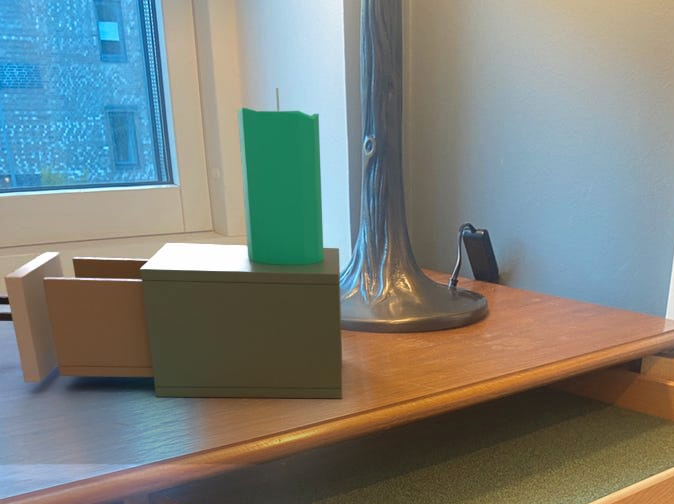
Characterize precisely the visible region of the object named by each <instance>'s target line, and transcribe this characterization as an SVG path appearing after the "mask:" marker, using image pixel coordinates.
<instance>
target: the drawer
mask: <svg viewBox="0 0 674 504" xmlns="http://www.w3.org/2000/svg"><path fill="white" fill-rule="evenodd" d="M150 259H151V258H125V257H124V258H121V257H87V256H85V257H84V256H83V257H82V256H74V257H73V258H72V266H73V272H74V277H64V270H63V265H62V259H61V253H60V252H49V251H48V252H44V253H42V254H40V255H39V256H37V257H35V258H34V259H32V260H30V261H29V262H27V263H25V264H24V265H22V266H20V267H18V268H17V269H15V270H13V271H12V272H10V273H9V274H6V275H5V276H4V283H5V288H6V293H7V295H0V306H1V305H2V306H9V308H10V309H9V310H10V311H0V322H12V324H13V329H14V334H15V339H16V345H17V350H18V354H19V359H20V365H21V370H22V374H23V379H24V383H41V382H42V381H43V380H45V378H47V376H48V375H49V374H50V373H51V372H53V370H54V369H55V368H56V367H58V372H59V376H60V377H100V378H103V377H104V378H105V377H106V378H107V377H109V378H121V377H122V378H154V376H153V368H152V360H151V352H150V344H149V336H148V328H147V321H146V313H145V305H144V297H143V289H142V280H141V274H140V269H141V268H142V267H143V266H144V265H145V264H146V263H147V262H148V261H149V260H150Z"/></svg>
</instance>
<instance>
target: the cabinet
mask: <svg viewBox="0 0 674 504" xmlns="http://www.w3.org/2000/svg"><path fill="white" fill-rule="evenodd" d="M323 256H324V259H323V260H322V261H320V262H318V263H311V264H302V265H280V264H266V263H261V262H255V261H252V260H251V259H249V258H248V246H247V245H238V244H237V245H236V244H235V245H234V244H205V243H203V244H202V243H201V244H200V243H170V242H167V243H165V244H164V245H163V247H161V248H160V249H159V250H158V251H157V252H156V253H155V254H154V255H153V256H152V257H151V258H149V259H150V260H149V261H148V262H147V263H146V264H145V265H144V266H143V267H142V268H141V269H140V274H141V280H142V289H143V297H144V305H145V313H146V321H147V328H148V336H149V344H150V352H151V360H152V368H153V376H154V377H153V382H154V390H155V391H154V392H155V397H156V398H230V399H231V398H237V399H241V398H242V399H243V398H244V399H245V398H247V399H249V398H251V399H343V343H342V339H343V338H342V307H341V306H342V305H341V273H340V272H341V271H340V270H341V269H340V248H338V247H323Z"/></svg>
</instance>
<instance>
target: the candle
mask: <svg viewBox="0 0 674 504" xmlns="http://www.w3.org/2000/svg"><path fill="white" fill-rule="evenodd" d="M275 92H276V110H258V111H257V110H255V109H251V108H248V107H241V108H240V109H238V110H237V120H238V134H239V144H240V145H239V148H240V160H241V161H240V162H241V175H242V177H241V178H242V190H243V202H244V204H243V205H244V214H245V215H244V218H245V231H246V232H245V233H246V246H248V258H249V259H251V260H252V261H255V262H261V263H266V264H280V265H302V264H311V263H318V262H320V261H322V260H323V259H324V256H323V248H324V232H323V231H324V230H323V228H324V227H323V203H322V202H323V201H322V173H321V169H322V168H321V145H320V142H321V141H320V118H319V117H320V116H319V113H313V114H311V115H310V114H307V113H306V112H303V111H300V110H280V99H279V87H276V88H275Z"/></svg>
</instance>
